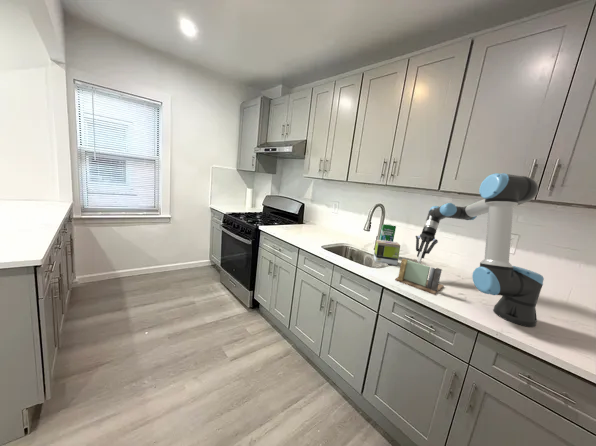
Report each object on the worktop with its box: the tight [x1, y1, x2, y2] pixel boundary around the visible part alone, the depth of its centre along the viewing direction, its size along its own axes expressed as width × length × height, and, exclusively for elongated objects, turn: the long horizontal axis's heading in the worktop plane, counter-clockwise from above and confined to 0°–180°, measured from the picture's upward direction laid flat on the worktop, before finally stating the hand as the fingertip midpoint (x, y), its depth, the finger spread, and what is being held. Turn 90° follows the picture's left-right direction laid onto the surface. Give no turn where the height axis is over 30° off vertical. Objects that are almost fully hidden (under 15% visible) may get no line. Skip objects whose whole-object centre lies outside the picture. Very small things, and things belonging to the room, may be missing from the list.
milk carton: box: [378, 223, 397, 242], centre depth 192 cm, size 9×9×25 cm
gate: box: [404, 259, 436, 288], centre depth 139 cm, size 17×2×11 cm, turn 45°
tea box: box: [373, 239, 401, 266], centre depth 176 cm, size 15×10×15 cm
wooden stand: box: [394, 258, 444, 296], centre depth 141 cm, size 21×18×13 cm
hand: (418, 262), depth 150 cm, fingers closed
